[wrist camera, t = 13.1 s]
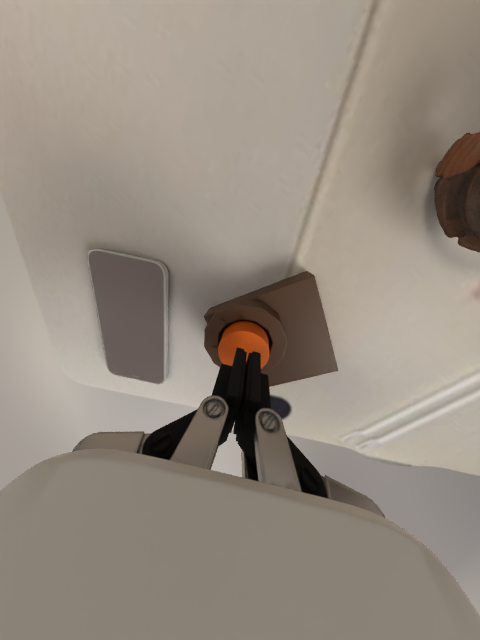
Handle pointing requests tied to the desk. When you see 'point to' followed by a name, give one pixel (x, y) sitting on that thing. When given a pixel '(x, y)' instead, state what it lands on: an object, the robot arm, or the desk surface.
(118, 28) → the desk surface
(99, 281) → the smartphone
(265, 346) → the power button
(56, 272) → the desk surface
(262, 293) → the control block
